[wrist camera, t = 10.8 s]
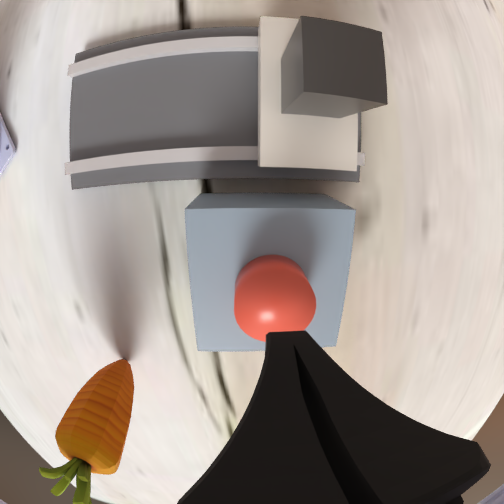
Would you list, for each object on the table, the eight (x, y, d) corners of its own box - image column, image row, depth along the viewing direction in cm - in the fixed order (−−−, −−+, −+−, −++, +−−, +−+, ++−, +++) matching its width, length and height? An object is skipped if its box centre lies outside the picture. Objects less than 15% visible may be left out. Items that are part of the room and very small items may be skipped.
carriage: (257, 165, 15) (271, 172, 8) (258, 30, 12) (269, -37, 6) (343, 168, 15) (408, 182, 9) (341, 39, 12) (394, -11, 6)
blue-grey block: (206, 304, 20) (197, 351, 15) (200, 193, 17) (184, 209, 12) (315, 302, 20) (335, 346, 15) (324, 194, 18) (355, 209, 13)
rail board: (78, 187, 17) (66, 191, 15) (82, 57, 13) (70, 51, 12) (353, 180, 17) (363, 183, 16) (351, 43, 14) (360, 35, 13)
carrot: (109, 376, 23) (56, 504, 8) (94, 336, 21) (17, 473, 7) (156, 382, 23) (119, 528, 9) (145, 341, 21) (84, 505, 7)
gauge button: (235, 319, 14) (235, 343, 13) (233, 255, 13) (233, 271, 11) (303, 317, 15) (311, 340, 13) (309, 254, 13) (320, 270, 11)
